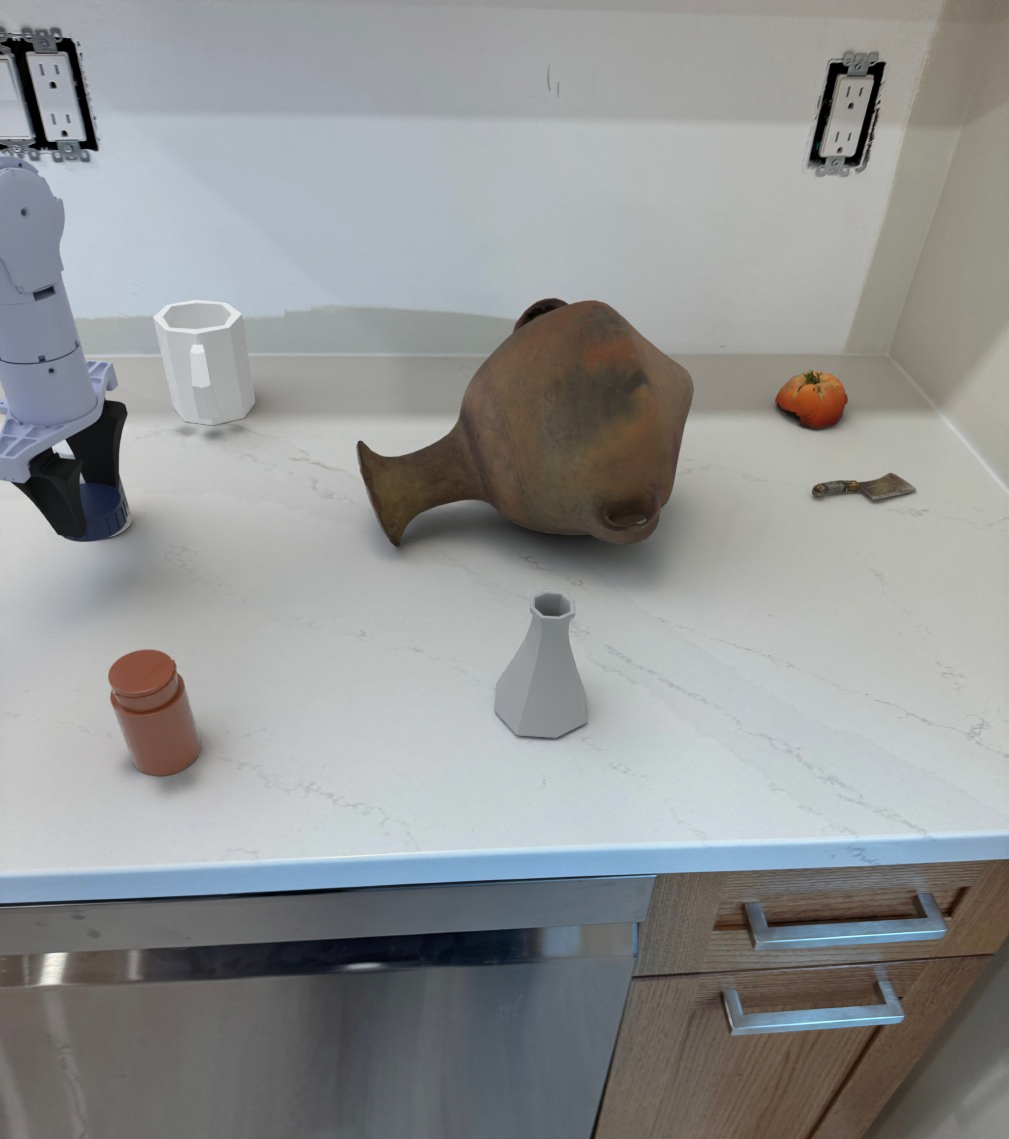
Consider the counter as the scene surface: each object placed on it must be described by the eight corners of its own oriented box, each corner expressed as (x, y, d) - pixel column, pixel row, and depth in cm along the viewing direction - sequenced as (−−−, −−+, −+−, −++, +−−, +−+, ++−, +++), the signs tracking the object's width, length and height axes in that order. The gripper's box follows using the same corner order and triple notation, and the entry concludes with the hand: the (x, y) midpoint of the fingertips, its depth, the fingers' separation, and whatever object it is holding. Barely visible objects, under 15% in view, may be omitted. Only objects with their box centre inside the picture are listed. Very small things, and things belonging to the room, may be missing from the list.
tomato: (784, 374, 106) (835, 345, 100) (816, 420, 108) (868, 394, 102) (756, 409, 102) (807, 380, 96) (790, 456, 104) (842, 431, 98)
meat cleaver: (924, 503, 91) (902, 478, 94) (928, 493, 90) (906, 468, 94) (815, 502, 89) (797, 477, 93) (819, 492, 88) (801, 466, 92)
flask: (508, 749, 64) (517, 646, 57) (481, 680, 69) (486, 577, 62) (602, 731, 66) (622, 630, 59) (569, 665, 71) (584, 564, 64)
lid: (139, 508, 73) (133, 487, 71) (108, 547, 69) (101, 525, 68) (77, 499, 73) (70, 478, 72) (42, 537, 69) (34, 515, 68)
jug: (666, 468, 93) (382, 523, 92) (657, 265, 82) (334, 326, 81) (736, 551, 76) (389, 620, 75) (735, 310, 65) (329, 387, 64)
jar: (140, 785, 60) (111, 705, 54) (125, 739, 63) (95, 658, 57) (209, 761, 62) (187, 682, 56) (190, 718, 64) (168, 638, 59)
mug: (174, 390, 99) (154, 301, 92) (254, 385, 100) (240, 298, 93) (171, 446, 90) (149, 352, 83) (258, 440, 92) (244, 348, 85)
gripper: (33, 298, 66) (83, 458, 76) (-85, 387, 56) (-10, 561, 66) (124, 308, 66) (163, 468, 75) (23, 400, 56) (83, 573, 65)
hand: (89, 512), depth 70 cm, fingers closed on lid, 5 cm apart
